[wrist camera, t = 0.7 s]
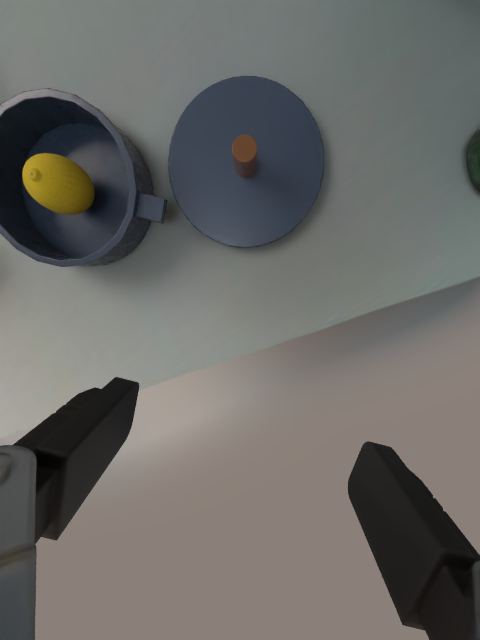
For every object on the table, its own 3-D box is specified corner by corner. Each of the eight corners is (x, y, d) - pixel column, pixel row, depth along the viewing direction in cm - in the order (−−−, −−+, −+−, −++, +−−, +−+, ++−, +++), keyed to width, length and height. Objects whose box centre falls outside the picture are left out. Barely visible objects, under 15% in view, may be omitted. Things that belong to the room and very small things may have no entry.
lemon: (75, 159, 31) (17, 125, 23) (116, 189, 32) (72, 166, 24) (53, 200, 32) (-9, 181, 24) (93, 229, 33) (44, 219, 25)
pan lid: (186, 64, 29) (170, 13, 23) (341, 104, 29) (365, 64, 23) (159, 228, 33) (139, 221, 27) (297, 262, 33) (308, 262, 27)
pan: (-1, 96, 30) (-52, 62, 25) (187, 143, 31) (175, 119, 26) (-6, 243, 34) (-52, 239, 29) (163, 283, 34) (147, 287, 29)
